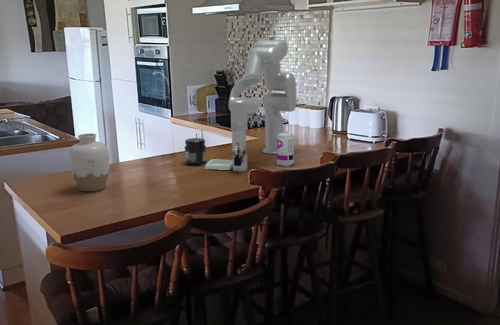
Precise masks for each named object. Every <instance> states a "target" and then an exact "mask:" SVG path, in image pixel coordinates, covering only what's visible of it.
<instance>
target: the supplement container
mask: <svg viewBox="0 0 500 325" xmlns="http://www.w3.org/2000/svg"><path fill="white" fill-rule="evenodd" d="M184 142H185V146H184V154H185V155H184V157H185V158H184V159H185V164H186V165H187V164H188V166H191V165H199V166H202V165H201V164H203V165H206V164H207V163H208V161H207V146H206V144H205V143H206V140H205V138H201V137H194V138H193V137H192V138H187V139H185V141H184Z"/></svg>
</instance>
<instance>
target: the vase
mask: <svg viewBox="0 0 500 325" xmlns="http://www.w3.org/2000/svg"><path fill="white" fill-rule="evenodd" d="M77 138H78V140H79V142H78V143H75V144H73V145H72V146H71V147H70V148H69V152H68V163H69V166H70V171H71V174H72V178H73V179H74V181H75V183H76V185H77V187H78V188H79V190H80V191H81V190H82V191H81V192H83V191H95V192H99V191H98V190H100V191H102V190H104V189H105V187H106V185H107V181H108V178H109V172H110V165H111V163H110V160H111V158H110V152H109V149H108V146H107V145H106V144H105V143H104V142H101V141H97V140H96V138H97V134H96V133H82V134H78V135H77ZM103 188H104V189H103ZM101 189H102V190H101Z"/></svg>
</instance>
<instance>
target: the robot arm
mask: <svg viewBox="0 0 500 325" xmlns="http://www.w3.org/2000/svg"><path fill="white" fill-rule="evenodd" d="M288 51H289V45H288V42H286V40H283V39H261V40H260V39H259V40H257V41H255V42H254V44H253V48H251V49H250V50H249V53H248V57H247V61H246V66H245V70H244V74H243V76H242V77H240V78H239V80H238V81H236V83H235V84H234V85H233V87H232V89H231V91H230V95H229V98H228V99H229V100H228V110H229V112H230V131H232V133H231V134H232V135H231V152H232V153H233V155H234V166H241V157H240V156H241V152H242V153H243V154H246V148H247V136H246V135H247V132H246V131H248V126H249V125H248V115H249V114H250V115H253V114H255V113H257V112H258V111H259V109H260V102H259V101H258V99H257V98H254V97H245V96H243V97H242V96H240V95H241V94H242V92H244V91H245V90H247V89H248V88H250V87H252V86H255V85H257V84H259V83H260V82H261V81H262V79H263V78H264V85H265V89H266V90H268V91H273V92H269V93H267V94H265V95H264V97H263V100H262V102H263V108H264V116H265V117H264V118H265V120H264V121H265V122H264V123H265V148H263V149H262V152H263V153H264V154H270V155H277V136H278V134H279V133H284V117H283V115H282V113H281V112H288V113H289V112H294V111H295V110H296V107H297V87H296V86H297V83H296V77H295V75H294V74H293V73H292V72H286V71H284V72H282V71H281V61H282V60H283V59H285V57H286V56H287V54H288V53H289V52H288ZM263 74H264V77H263ZM283 92H284V93H283Z"/></svg>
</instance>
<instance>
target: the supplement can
mask: <svg viewBox="0 0 500 325" xmlns="http://www.w3.org/2000/svg"><path fill="white" fill-rule="evenodd" d="M294 144H295V136H294V134H293V133H290V132H283V133H279V134H278V136H277V154H276V164H277V166H279V165H281V166H280V167H290V165H292V164H293V165H294V163H295V162H294V161H295V159H294V158H295V156H294V155H295V153H294V152H295V150H294V149H295V148H294V147H295V145H294ZM293 165H292V166H293Z"/></svg>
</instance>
